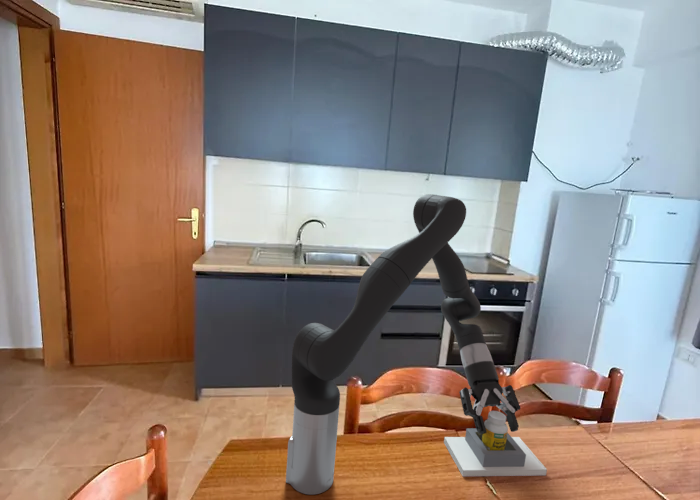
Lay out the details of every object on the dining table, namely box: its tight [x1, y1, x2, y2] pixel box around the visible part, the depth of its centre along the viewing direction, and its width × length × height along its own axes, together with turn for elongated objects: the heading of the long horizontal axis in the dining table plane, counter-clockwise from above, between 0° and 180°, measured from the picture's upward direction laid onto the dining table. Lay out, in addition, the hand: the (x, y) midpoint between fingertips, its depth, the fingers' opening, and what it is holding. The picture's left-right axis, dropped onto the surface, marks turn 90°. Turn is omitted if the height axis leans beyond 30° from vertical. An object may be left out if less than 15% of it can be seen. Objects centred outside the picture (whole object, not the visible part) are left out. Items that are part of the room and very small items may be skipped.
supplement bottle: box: [482, 410, 509, 451], centre depth 96 cm, size 5×5×10 cm
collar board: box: [443, 427, 548, 477], centre depth 96 cm, size 20×12×4 cm, turn 97°
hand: (499, 432), depth 94 cm, fingers open, 8 cm apart
